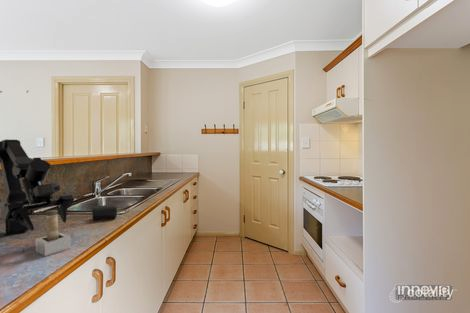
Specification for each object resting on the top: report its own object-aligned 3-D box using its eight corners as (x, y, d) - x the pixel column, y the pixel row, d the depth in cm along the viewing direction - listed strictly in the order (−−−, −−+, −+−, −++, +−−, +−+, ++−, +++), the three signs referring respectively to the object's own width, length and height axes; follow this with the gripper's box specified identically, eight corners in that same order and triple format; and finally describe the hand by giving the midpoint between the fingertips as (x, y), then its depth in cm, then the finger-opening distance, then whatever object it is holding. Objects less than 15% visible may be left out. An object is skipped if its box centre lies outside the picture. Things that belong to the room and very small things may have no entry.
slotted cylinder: (45, 251, 79) (44, 212, 78) (51, 247, 82) (50, 209, 81) (55, 251, 79) (53, 212, 79) (60, 247, 82) (59, 209, 82)
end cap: (92, 222, 109) (92, 208, 109) (92, 219, 115) (92, 204, 115) (117, 219, 114) (116, 205, 114) (115, 215, 120) (115, 202, 120)
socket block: (35, 251, 79) (35, 239, 79) (60, 243, 85) (60, 232, 85) (45, 256, 76) (44, 243, 75) (70, 248, 82) (70, 236, 82)
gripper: (5, 178, 76) (19, 219, 70) (71, 172, 91) (87, 205, 86) (-2, 200, 80) (11, 239, 75) (62, 191, 96) (76, 223, 90)
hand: (49, 225), depth 81 cm, fingers open, 9 cm apart
